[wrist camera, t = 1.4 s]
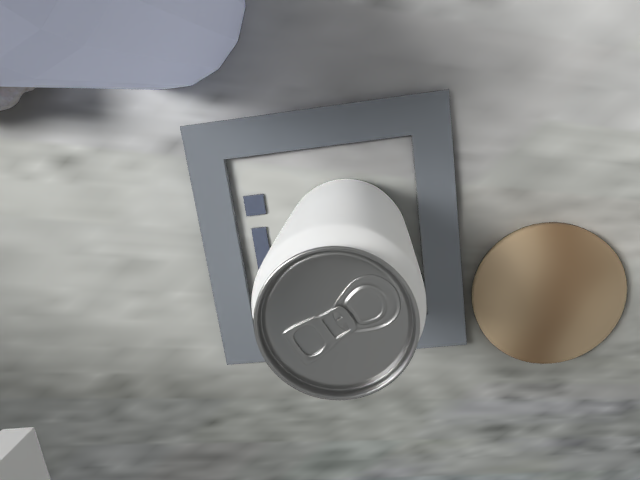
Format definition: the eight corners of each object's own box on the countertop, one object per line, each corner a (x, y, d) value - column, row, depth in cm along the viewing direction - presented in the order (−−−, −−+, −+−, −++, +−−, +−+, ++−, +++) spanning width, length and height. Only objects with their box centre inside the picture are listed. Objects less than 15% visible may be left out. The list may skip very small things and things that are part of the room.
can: (428, 251, 29) (470, 354, 18) (331, 310, 31) (311, 441, 19) (363, 153, 28) (363, 194, 16) (265, 219, 29) (202, 300, 18)
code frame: (228, 361, 32) (227, 364, 32) (182, 125, 28) (179, 126, 28) (465, 341, 30) (466, 344, 30) (447, 89, 27) (448, 89, 26)
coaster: (475, 363, 31) (478, 369, 30) (467, 230, 29) (469, 233, 28) (621, 352, 30) (626, 357, 29) (622, 214, 28) (628, 216, 27)
